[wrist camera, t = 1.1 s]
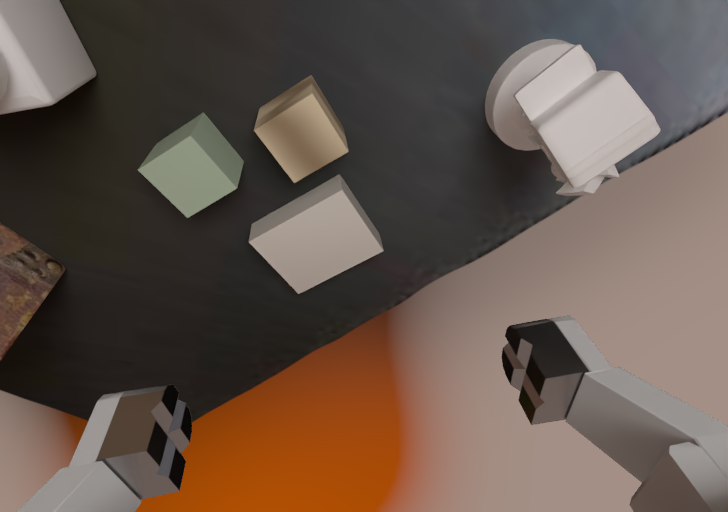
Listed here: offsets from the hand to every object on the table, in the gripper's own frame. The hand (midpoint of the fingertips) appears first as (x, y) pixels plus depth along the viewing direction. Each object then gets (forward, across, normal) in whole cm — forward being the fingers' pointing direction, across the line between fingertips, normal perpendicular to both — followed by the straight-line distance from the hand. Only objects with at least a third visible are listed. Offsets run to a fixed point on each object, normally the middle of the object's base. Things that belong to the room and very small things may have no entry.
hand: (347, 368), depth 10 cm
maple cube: (+28, +1, +3) cm, 28 cm away
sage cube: (+28, +10, +5) cm, 30 cm away
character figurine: (+28, -19, +3) cm, 34 cm away
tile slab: (+28, +1, +14) cm, 32 cm away
